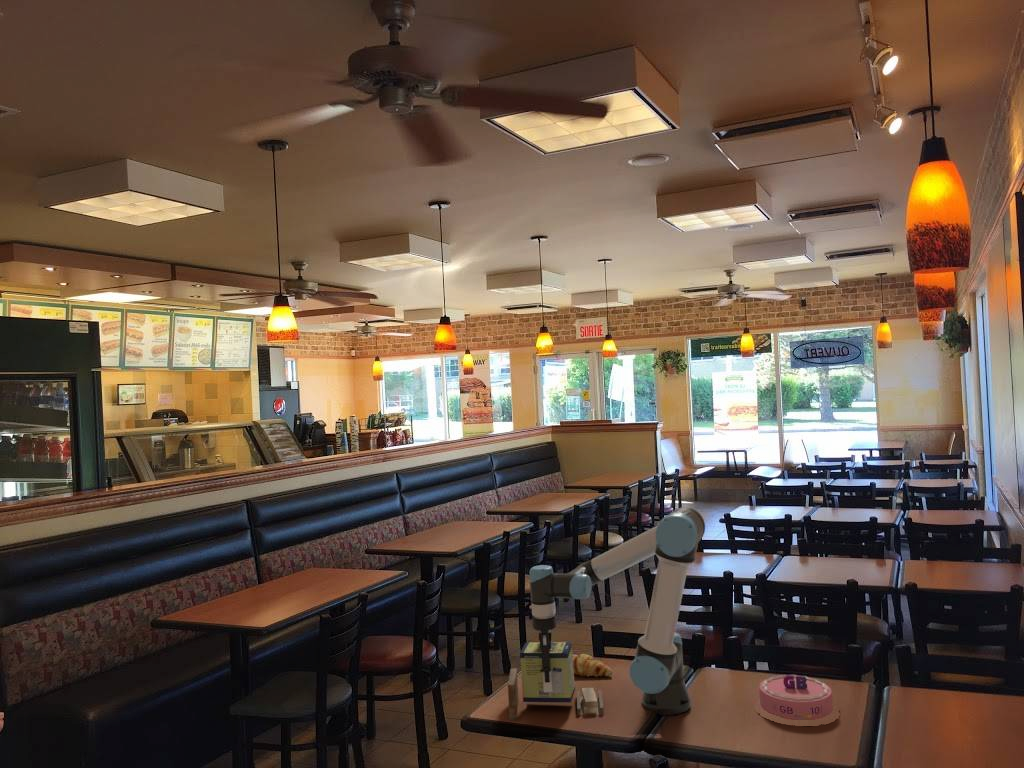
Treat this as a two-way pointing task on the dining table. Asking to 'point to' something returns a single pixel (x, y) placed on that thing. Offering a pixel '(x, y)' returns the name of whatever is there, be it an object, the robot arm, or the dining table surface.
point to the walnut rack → (515, 700)
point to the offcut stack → (589, 700)
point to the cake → (796, 697)
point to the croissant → (589, 666)
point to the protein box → (559, 671)
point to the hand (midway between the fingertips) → (548, 684)
